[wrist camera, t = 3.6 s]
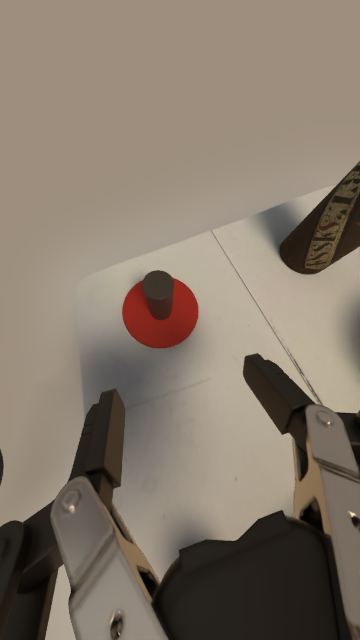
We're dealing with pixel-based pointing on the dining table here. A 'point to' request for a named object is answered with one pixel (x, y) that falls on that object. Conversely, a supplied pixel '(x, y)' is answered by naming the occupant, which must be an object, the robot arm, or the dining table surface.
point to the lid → (160, 310)
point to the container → (327, 229)
